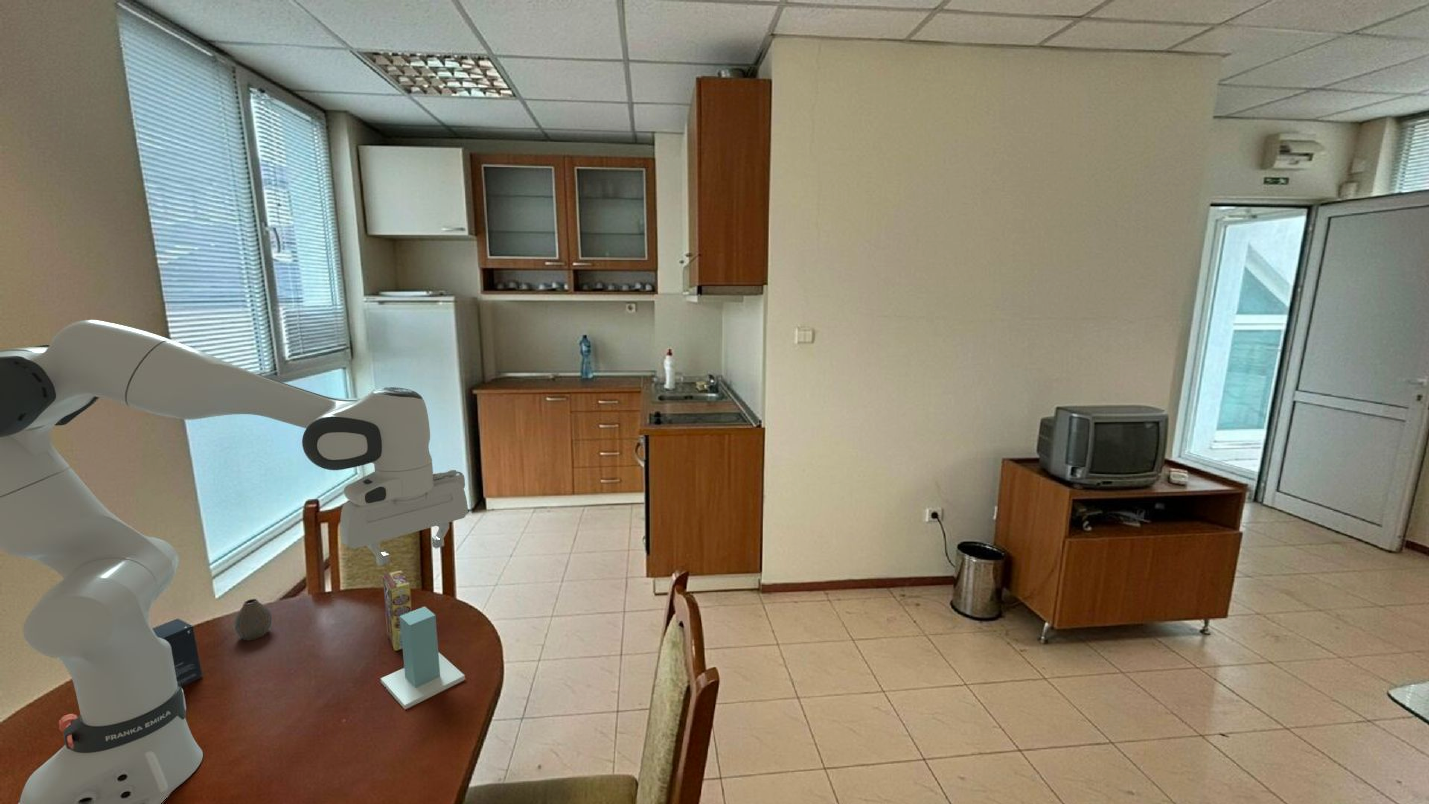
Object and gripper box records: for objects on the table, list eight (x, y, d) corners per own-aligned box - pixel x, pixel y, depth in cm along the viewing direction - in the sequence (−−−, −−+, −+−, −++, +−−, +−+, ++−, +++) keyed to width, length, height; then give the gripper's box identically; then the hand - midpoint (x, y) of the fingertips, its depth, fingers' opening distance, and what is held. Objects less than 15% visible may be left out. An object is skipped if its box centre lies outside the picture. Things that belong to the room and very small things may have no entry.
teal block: (415, 688, 117) (409, 625, 115) (405, 677, 120) (399, 616, 118) (440, 676, 121) (435, 615, 119) (429, 666, 124) (424, 606, 122)
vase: (228, 641, 134) (223, 606, 132) (259, 625, 140) (255, 591, 139) (250, 646, 132) (245, 611, 130) (280, 630, 138) (276, 596, 137)
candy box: (415, 645, 133) (410, 583, 131) (394, 652, 131) (389, 589, 128) (407, 628, 140) (401, 569, 137) (386, 634, 137) (381, 574, 135)
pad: (405, 709, 113) (404, 705, 112) (381, 682, 120) (380, 678, 120) (465, 679, 122) (464, 675, 121) (439, 656, 129) (438, 652, 129)
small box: (187, 667, 124) (179, 616, 122) (204, 677, 121) (195, 625, 119) (103, 705, 113) (92, 650, 111) (119, 717, 110) (108, 660, 108)
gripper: (455, 464, 110) (460, 532, 113) (332, 490, 95) (341, 568, 97) (471, 471, 106) (476, 542, 109) (346, 499, 91) (354, 580, 93)
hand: (411, 554), depth 103 cm, fingers open, 8 cm apart
